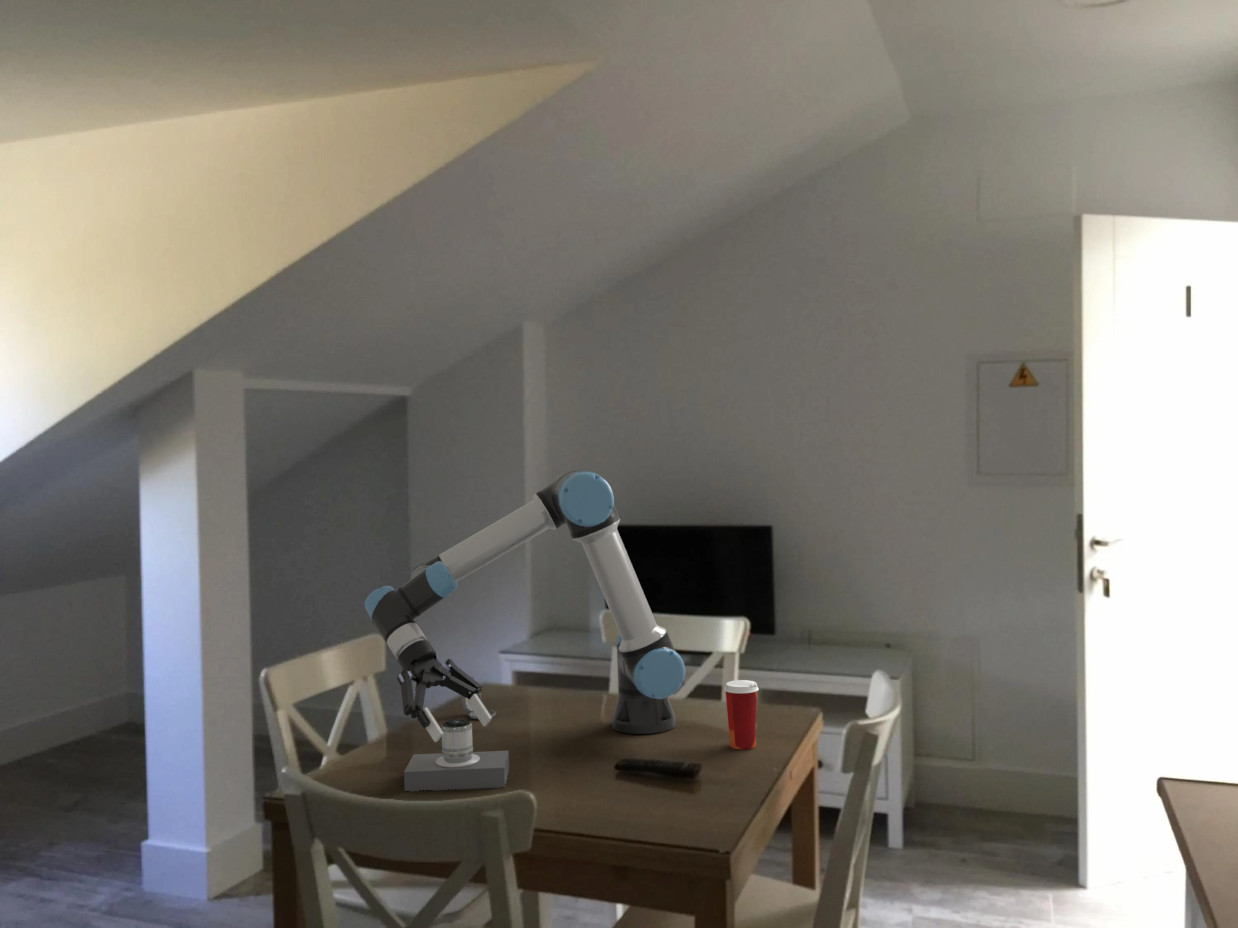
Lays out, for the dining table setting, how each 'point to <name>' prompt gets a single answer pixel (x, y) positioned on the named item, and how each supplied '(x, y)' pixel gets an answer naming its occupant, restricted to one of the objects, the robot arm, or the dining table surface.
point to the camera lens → (457, 741)
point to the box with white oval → (457, 772)
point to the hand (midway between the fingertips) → (464, 729)
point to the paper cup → (742, 713)
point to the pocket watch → (469, 709)
